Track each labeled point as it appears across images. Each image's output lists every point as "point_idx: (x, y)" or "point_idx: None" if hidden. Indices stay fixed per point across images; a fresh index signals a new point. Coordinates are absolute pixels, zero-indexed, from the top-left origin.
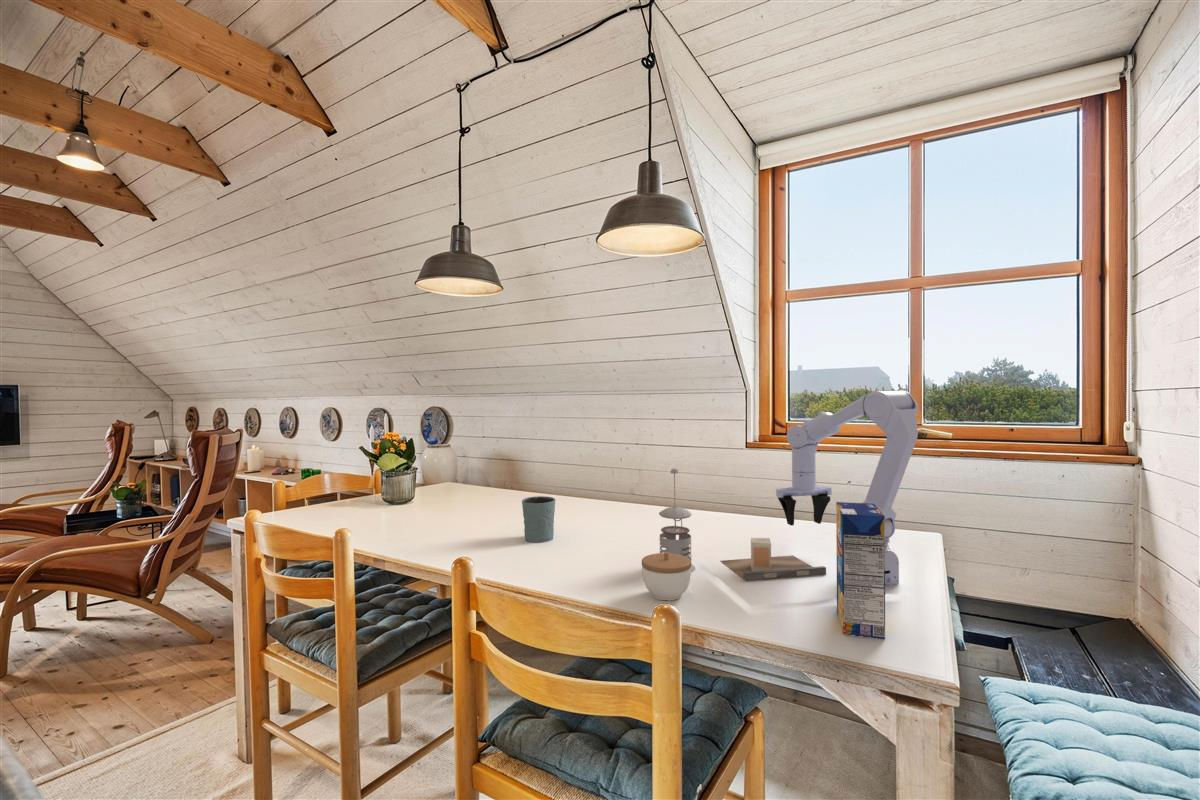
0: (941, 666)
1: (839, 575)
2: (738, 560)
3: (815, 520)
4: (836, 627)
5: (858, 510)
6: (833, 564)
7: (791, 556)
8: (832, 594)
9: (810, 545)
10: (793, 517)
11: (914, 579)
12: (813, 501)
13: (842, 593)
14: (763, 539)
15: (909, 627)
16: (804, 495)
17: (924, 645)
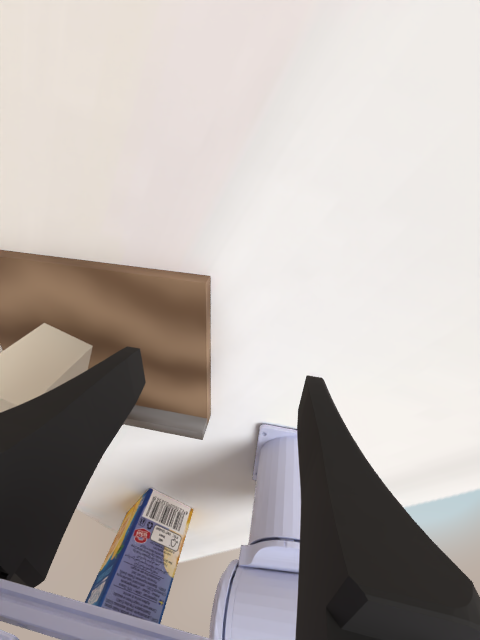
0: (182, 559)
1: (101, 580)
2: (11, 269)
3: (304, 395)
4: (128, 503)
5: None
6: (310, 353)
7: (195, 291)
8: (178, 457)
9: (456, 83)
10: (116, 426)
11: (401, 479)
12: (325, 515)
13: (100, 570)
14: (4, 410)
15: (212, 532)
16: (136, 629)
17: (196, 546)
